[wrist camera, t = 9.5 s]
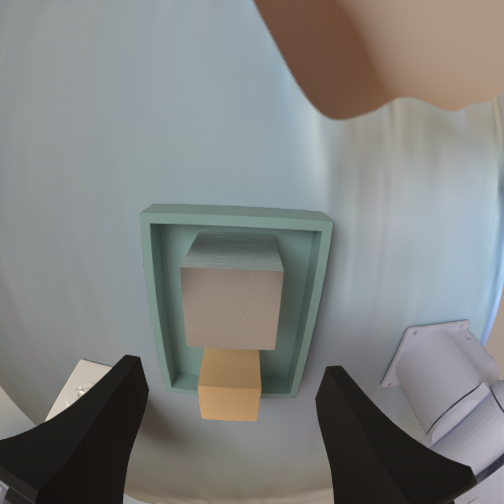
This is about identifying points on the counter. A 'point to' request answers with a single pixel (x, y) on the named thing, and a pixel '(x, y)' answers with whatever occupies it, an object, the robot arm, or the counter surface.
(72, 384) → the jar
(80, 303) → the counter surface
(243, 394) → the tan box
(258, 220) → the tote
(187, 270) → the concrete cube
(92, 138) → the counter surface
